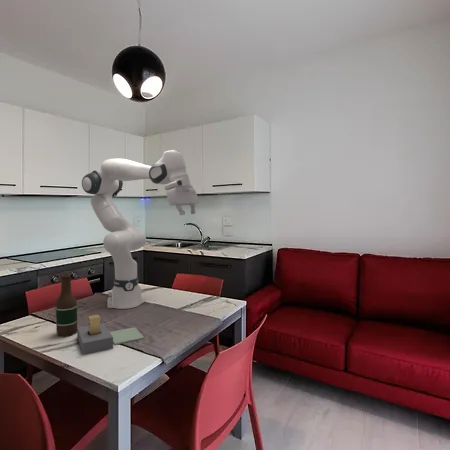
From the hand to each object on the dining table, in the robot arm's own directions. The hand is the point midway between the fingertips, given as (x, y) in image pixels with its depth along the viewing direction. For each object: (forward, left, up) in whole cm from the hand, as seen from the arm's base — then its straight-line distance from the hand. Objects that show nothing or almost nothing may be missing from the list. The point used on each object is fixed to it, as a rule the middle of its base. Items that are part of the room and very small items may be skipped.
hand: (188, 214), depth 141 cm
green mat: (+5, -29, -48) cm, 56 cm away
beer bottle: (-10, -49, -48) cm, 69 cm away
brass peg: (+5, -41, -48) cm, 63 cm away
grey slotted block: (+5, -41, -48) cm, 63 cm away
